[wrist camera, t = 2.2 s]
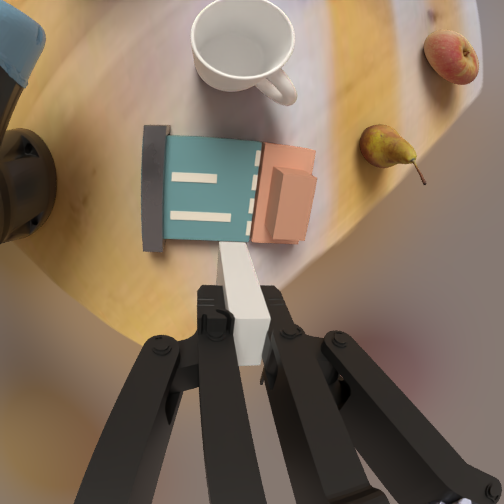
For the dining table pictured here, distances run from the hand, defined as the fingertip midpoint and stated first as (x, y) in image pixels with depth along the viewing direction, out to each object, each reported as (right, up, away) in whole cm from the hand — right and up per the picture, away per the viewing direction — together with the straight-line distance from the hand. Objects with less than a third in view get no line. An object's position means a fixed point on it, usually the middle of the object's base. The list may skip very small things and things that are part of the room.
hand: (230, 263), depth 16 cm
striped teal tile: (-5, +8, +15) cm, 18 cm away
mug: (0, +21, +10) cm, 23 cm away
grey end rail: (-10, +9, +14) cm, 19 cm away
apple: (+30, +31, +10) cm, 44 cm away
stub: (+5, +8, +17) cm, 20 cm away
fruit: (+17, +15, +16) cm, 28 cm away
